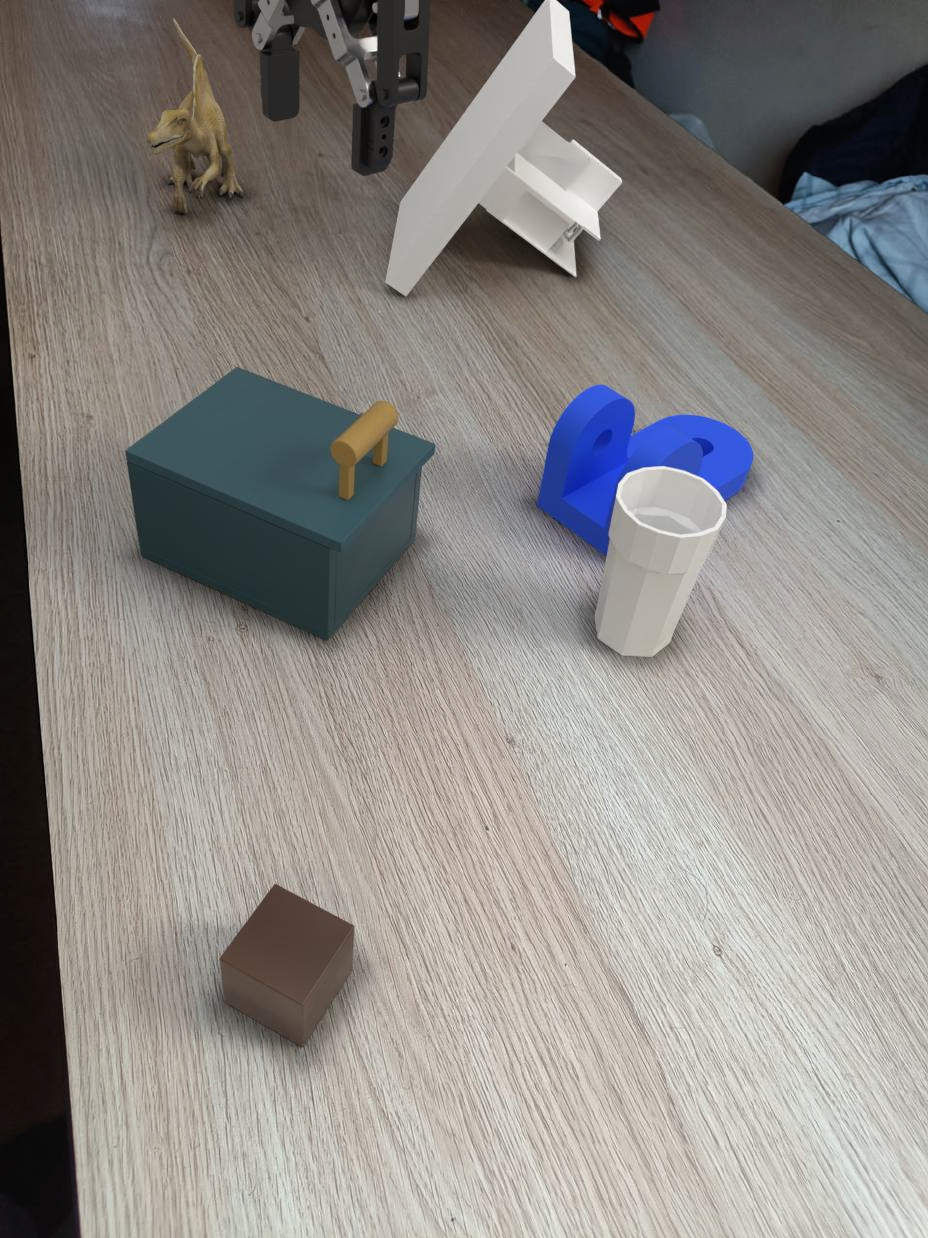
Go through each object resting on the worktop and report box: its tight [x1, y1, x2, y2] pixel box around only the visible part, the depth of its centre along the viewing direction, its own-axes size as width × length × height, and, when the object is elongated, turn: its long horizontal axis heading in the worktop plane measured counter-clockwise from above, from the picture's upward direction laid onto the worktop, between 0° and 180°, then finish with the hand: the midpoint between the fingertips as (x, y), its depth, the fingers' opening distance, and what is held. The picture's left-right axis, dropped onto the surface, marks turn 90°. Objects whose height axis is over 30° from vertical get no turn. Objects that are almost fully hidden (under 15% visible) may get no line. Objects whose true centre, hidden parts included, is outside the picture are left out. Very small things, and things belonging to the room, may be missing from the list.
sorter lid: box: [124, 366, 436, 553], centre depth 66 cm, size 15×12×5 cm
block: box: [218, 883, 356, 1048], centre depth 50 cm, size 4×4×4 cm
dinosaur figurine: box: [145, 17, 244, 215], centre depth 106 cm, size 8×26×13 cm, turn 5°
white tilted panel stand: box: [384, 0, 623, 297], centre depth 102 cm, size 23×16×24 cm
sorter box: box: [126, 460, 423, 641], centre depth 70 cm, size 15×12×8 cm
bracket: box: [536, 384, 754, 557], centre depth 79 cm, size 18×8×9 cm, turn 133°
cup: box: [594, 466, 728, 658], centre depth 67 cm, size 7×7×11 cm
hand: (324, 143), depth 62 cm, fingers open, 8 cm apart
